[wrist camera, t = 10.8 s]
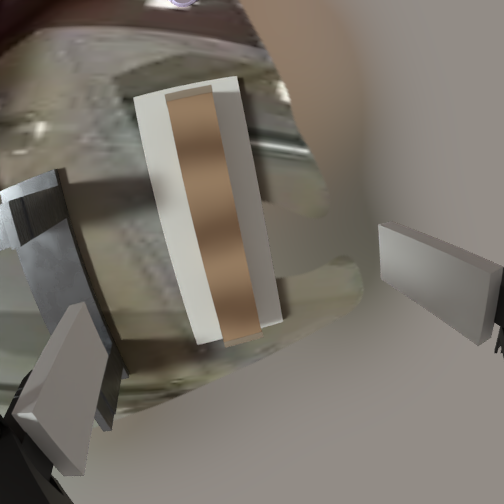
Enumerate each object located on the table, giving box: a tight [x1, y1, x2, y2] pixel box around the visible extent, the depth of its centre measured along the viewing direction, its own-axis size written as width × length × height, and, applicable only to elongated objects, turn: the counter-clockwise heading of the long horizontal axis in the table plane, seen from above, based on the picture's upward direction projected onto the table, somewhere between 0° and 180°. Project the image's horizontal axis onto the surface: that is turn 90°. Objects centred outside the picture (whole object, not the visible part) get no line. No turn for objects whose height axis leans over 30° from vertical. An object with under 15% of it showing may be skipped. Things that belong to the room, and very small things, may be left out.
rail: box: [165, 85, 263, 348], centre depth 27 cm, size 22×4×3 cm, turn 11°
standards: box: [0, 169, 129, 431], centre depth 23 cm, size 22×6×10 cm, turn 11°
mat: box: [134, 76, 283, 345], centre depth 29 cm, size 24×9×1 cm, turn 11°
